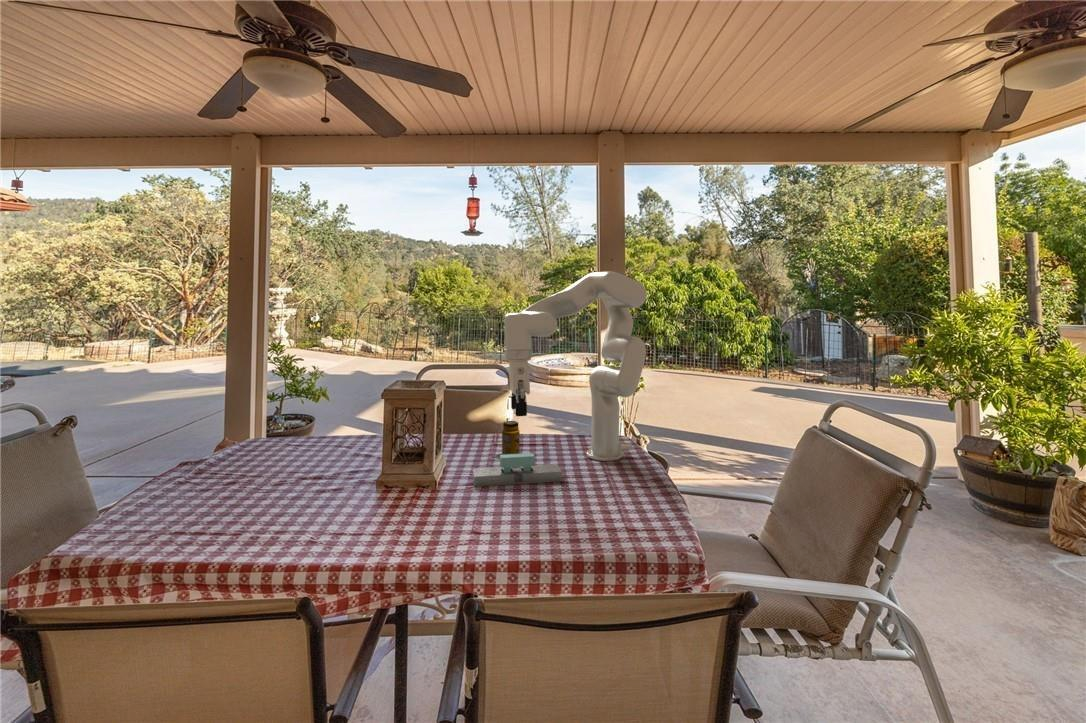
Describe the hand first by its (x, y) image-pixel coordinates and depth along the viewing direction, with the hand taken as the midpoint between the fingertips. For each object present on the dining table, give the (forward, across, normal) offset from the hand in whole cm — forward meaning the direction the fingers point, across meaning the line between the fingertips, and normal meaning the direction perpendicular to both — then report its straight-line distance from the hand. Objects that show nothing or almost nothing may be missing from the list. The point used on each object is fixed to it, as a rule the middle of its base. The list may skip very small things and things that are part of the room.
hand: (518, 412), depth 148 cm
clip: (+20, -1, +1) cm, 20 cm away
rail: (+20, -1, +1) cm, 21 cm away
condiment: (+21, +22, +1) cm, 30 cm away
